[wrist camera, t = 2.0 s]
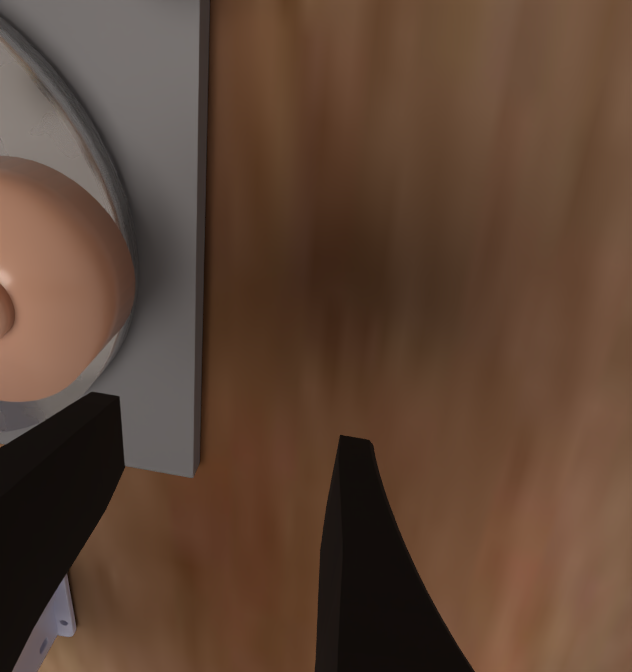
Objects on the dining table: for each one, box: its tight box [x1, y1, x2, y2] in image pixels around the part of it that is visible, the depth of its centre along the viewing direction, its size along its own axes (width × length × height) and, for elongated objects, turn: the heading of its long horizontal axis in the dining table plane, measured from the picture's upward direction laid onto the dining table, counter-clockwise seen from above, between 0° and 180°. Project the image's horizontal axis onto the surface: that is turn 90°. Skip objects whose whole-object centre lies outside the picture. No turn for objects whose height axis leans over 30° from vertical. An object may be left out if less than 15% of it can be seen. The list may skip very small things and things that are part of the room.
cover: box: [0, 156, 135, 402], centre depth 16 cm, size 7×7×4 cm
